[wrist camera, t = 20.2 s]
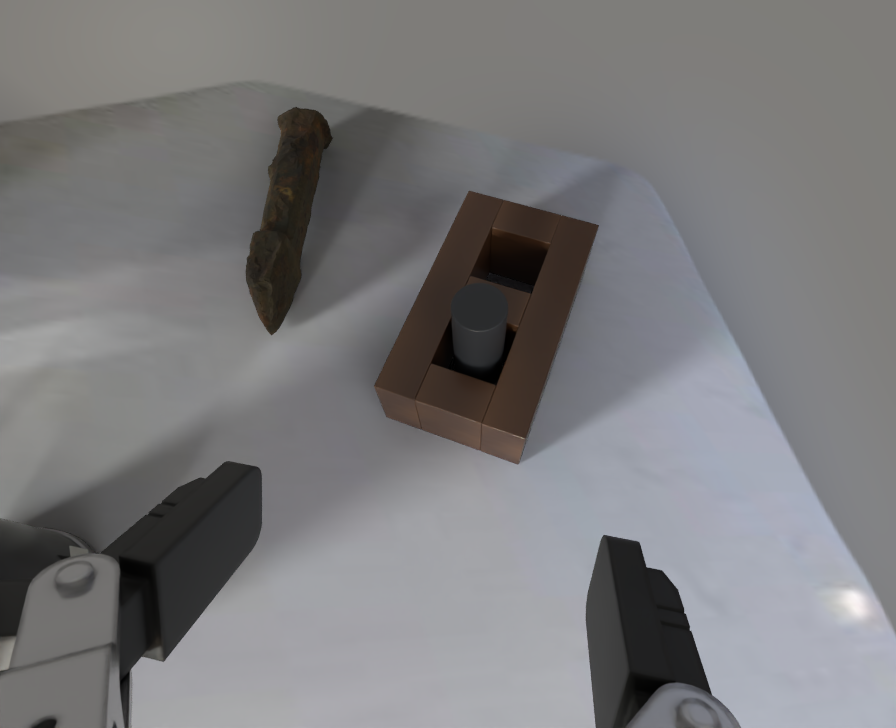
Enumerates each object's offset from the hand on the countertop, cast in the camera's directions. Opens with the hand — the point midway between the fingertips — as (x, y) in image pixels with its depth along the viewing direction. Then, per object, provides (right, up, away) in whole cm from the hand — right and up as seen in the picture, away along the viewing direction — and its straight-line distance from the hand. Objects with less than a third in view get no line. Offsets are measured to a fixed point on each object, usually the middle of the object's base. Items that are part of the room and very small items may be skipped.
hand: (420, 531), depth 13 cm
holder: (+4, +5, +25) cm, 26 cm away
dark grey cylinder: (+3, +3, +24) cm, 24 cm away
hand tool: (-11, +14, +30) cm, 35 cm away
